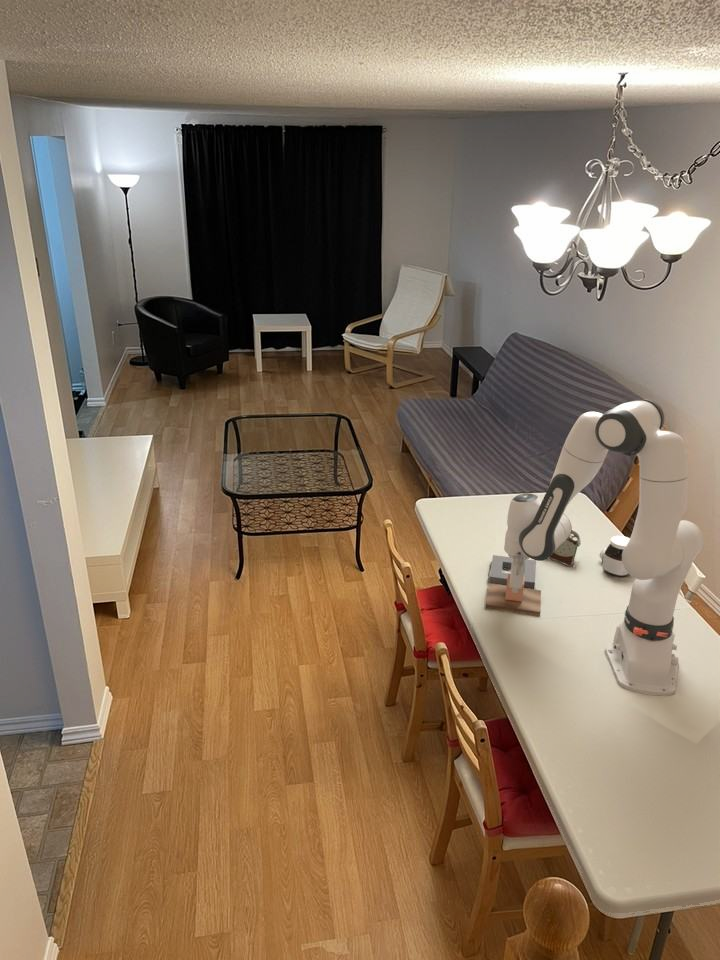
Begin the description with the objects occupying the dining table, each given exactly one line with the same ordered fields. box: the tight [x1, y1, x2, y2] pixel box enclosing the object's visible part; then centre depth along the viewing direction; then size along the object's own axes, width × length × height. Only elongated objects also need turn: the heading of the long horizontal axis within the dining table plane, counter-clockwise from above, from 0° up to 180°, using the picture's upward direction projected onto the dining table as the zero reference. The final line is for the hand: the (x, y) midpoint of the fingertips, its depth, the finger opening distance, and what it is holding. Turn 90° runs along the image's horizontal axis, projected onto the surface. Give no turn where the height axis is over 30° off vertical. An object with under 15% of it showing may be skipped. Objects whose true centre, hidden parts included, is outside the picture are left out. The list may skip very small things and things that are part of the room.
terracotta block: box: [505, 574, 525, 602], centre depth 222 cm, size 5×5×6 cm
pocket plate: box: [488, 554, 537, 590], centre depth 237 cm, size 14×14×2 cm
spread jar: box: [599, 535, 631, 578], centre depth 240 cm, size 12×11×12 cm
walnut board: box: [484, 582, 542, 617], centre depth 223 cm, size 12×16×2 cm
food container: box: [548, 529, 582, 567], centre depth 246 cm, size 12×6×10 cm, turn 47°
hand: (515, 585), depth 221 cm, fingers closed on terracotta block, 5 cm apart
